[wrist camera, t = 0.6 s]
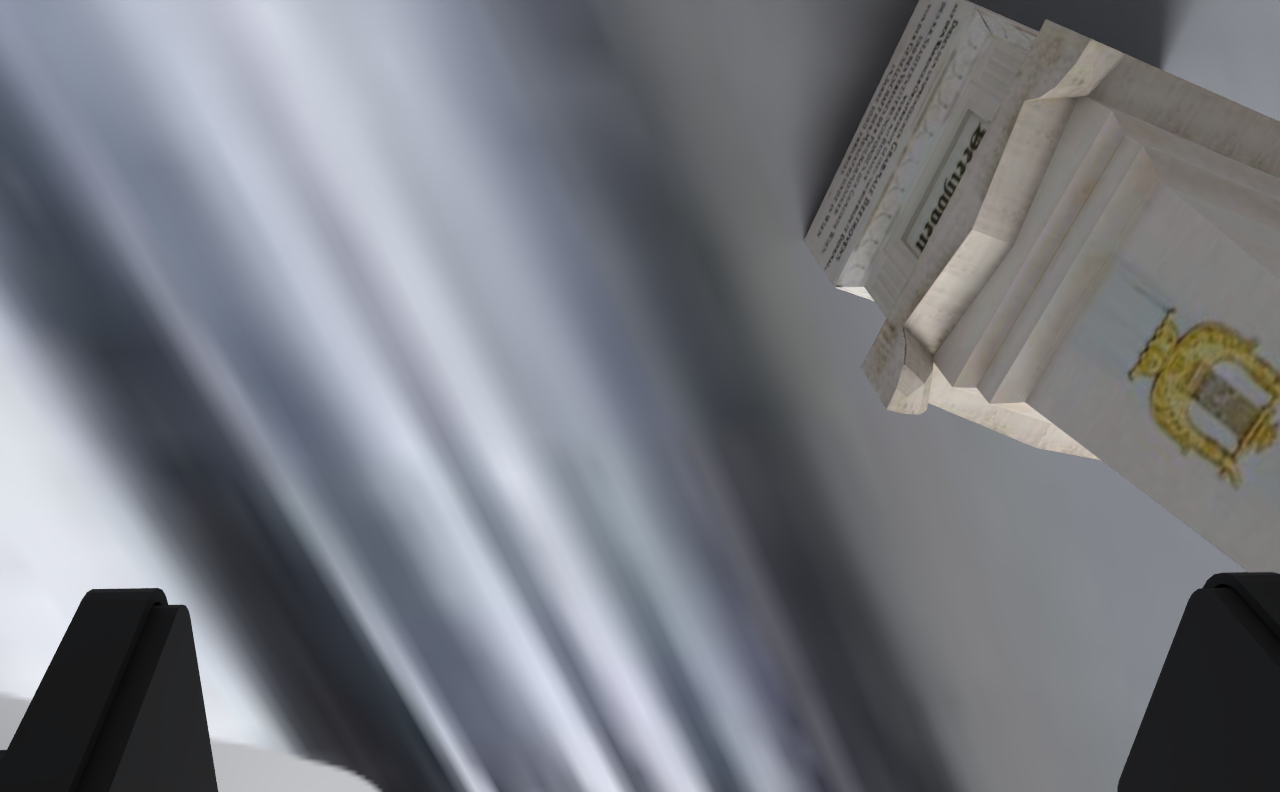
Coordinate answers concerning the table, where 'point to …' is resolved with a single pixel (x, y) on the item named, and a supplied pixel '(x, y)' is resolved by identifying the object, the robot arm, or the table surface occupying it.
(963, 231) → the miniature monument
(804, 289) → the table surface
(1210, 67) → the table surface
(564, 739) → the table surface
